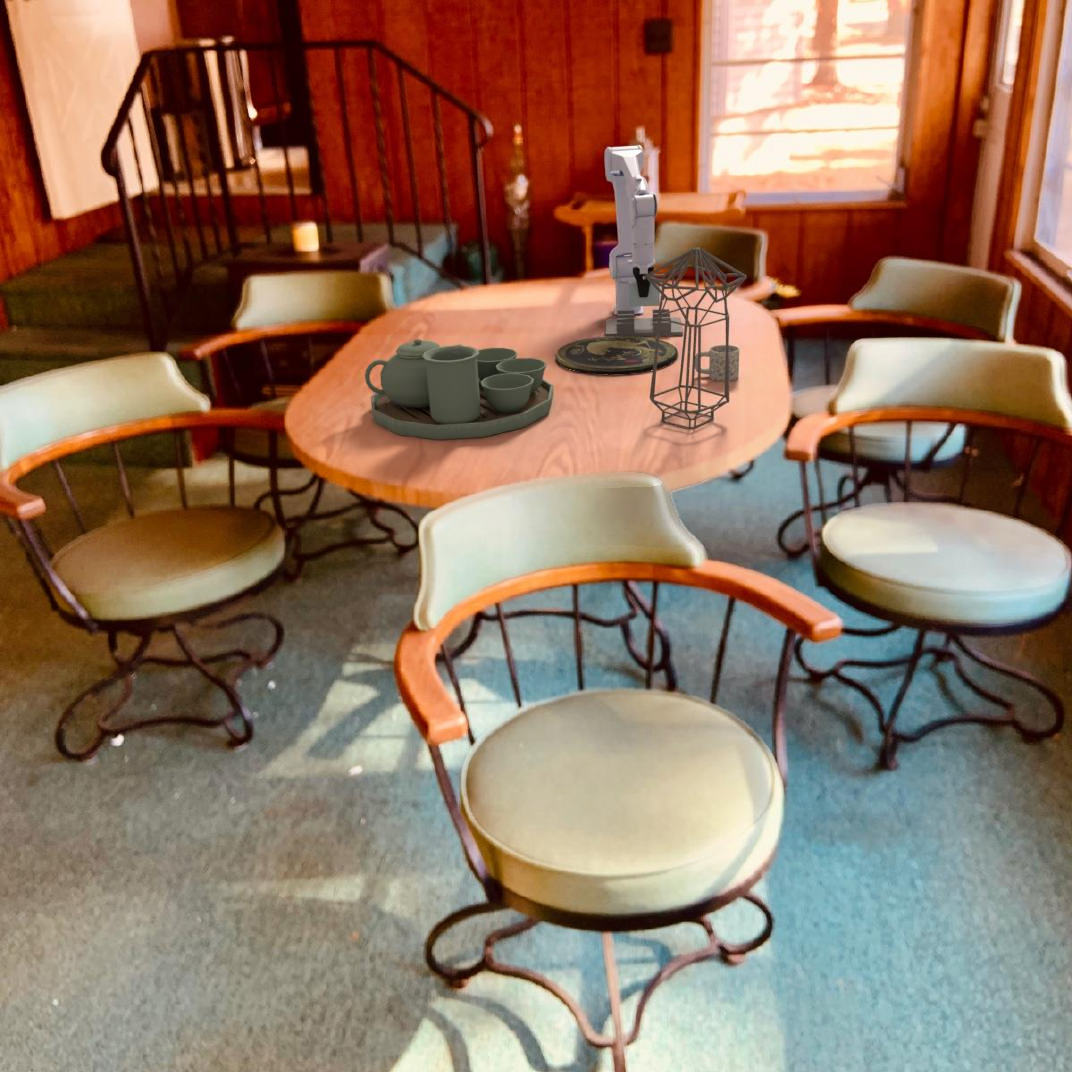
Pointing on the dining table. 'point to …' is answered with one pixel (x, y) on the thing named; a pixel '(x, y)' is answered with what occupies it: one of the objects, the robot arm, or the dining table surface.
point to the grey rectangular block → (635, 300)
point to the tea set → (458, 391)
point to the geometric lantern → (682, 267)
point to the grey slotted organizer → (642, 325)
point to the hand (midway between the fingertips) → (643, 295)
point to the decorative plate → (615, 355)
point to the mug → (720, 363)
